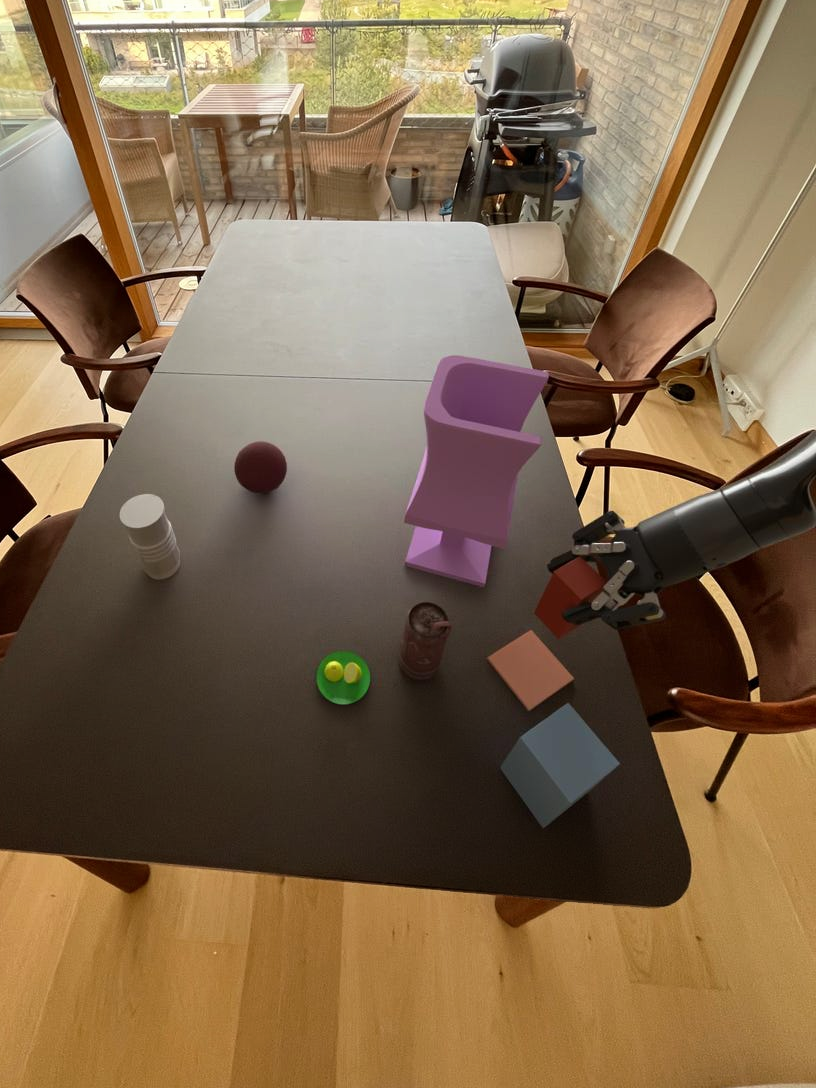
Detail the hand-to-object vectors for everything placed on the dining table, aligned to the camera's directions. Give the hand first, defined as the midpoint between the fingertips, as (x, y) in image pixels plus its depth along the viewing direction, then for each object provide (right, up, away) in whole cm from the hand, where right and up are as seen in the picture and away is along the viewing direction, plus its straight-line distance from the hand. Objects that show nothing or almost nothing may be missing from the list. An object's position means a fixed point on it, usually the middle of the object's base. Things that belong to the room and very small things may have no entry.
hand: (558, 593), depth 70 cm
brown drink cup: (-15, -15, +16) cm, 27 cm away
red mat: (+2, -15, +15) cm, 22 cm away
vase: (-7, +1, +32) cm, 32 cm away
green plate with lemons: (-26, -17, +15) cm, 34 cm away
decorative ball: (-42, +11, +42) cm, 60 cm away
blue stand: (0, -26, +5) cm, 26 cm away
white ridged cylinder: (-58, -2, +29) cm, 65 cm away
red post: (+2, -4, +4) cm, 6 cm away
